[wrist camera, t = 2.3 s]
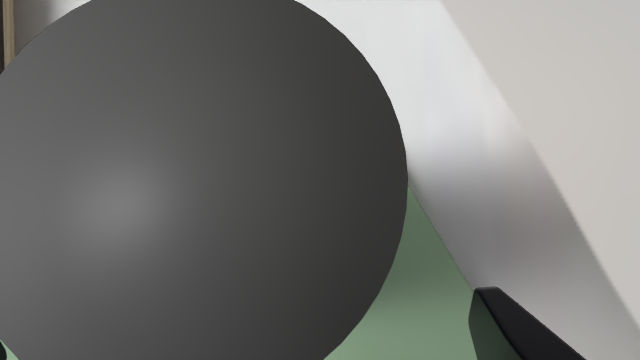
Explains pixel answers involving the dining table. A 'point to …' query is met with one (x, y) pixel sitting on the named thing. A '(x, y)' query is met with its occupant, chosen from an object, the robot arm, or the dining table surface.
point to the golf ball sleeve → (194, 184)
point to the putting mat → (412, 303)
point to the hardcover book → (6, 33)
